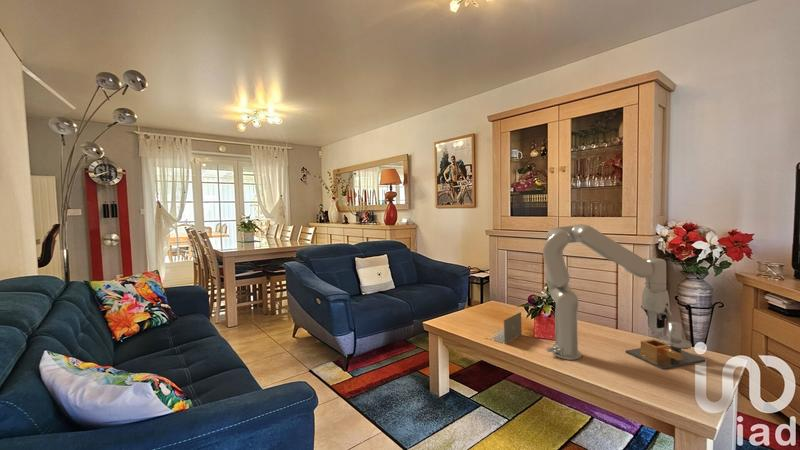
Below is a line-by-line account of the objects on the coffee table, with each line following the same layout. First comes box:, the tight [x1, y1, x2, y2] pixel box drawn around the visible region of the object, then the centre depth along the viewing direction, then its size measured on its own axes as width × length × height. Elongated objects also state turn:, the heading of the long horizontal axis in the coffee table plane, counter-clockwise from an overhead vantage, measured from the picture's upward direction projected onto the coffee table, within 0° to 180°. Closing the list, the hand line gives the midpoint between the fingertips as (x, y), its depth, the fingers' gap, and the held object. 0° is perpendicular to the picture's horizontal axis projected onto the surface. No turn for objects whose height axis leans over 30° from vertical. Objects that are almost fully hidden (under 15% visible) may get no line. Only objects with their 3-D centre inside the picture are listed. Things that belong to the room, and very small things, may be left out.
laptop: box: [491, 312, 523, 345], centre depth 191 cm, size 18×12×13 cm
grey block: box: [647, 310, 665, 333], centre depth 157 cm, size 4×4×9 cm
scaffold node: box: [625, 320, 706, 370], centre depth 158 cm, size 24×20×15 cm
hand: (656, 325), depth 157 cm, fingers closed on grey block, 4 cm apart
